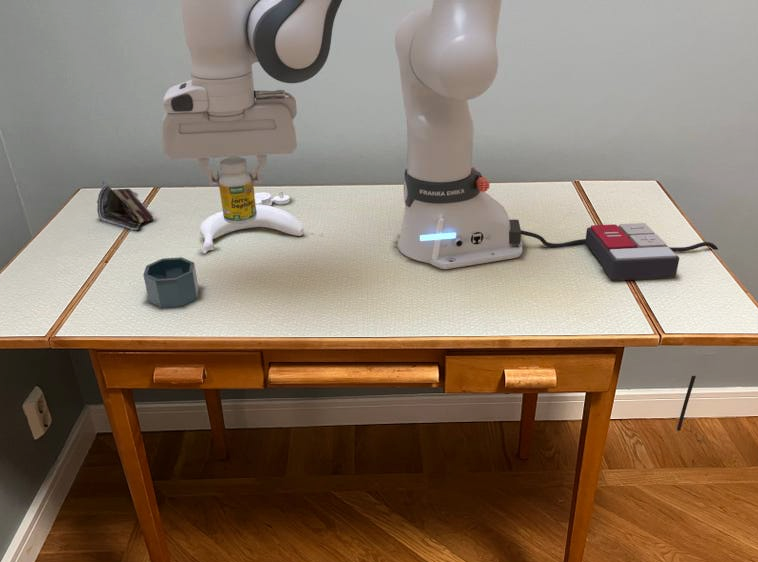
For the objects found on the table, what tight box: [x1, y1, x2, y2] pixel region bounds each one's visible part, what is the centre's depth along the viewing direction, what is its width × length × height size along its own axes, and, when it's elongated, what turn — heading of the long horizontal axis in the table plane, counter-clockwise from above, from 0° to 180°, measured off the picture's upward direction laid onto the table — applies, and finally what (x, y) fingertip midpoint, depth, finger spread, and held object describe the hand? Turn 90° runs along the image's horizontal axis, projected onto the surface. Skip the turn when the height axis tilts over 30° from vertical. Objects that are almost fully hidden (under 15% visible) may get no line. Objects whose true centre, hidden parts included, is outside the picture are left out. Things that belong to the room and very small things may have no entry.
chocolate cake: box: [96, 181, 154, 231], centre depth 149 cm, size 10×7×12 cm
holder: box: [143, 256, 200, 309], centre depth 122 cm, size 8×8×5 cm
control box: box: [585, 222, 680, 281], centre depth 129 cm, size 11×4×15 cm
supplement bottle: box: [218, 156, 257, 224], centre depth 118 cm, size 5×5×10 cm
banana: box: [199, 205, 304, 254], centre depth 139 cm, size 5×19×15 cm
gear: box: [254, 191, 291, 206], centre depth 153 cm, size 9×9×2 cm
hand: (235, 182), depth 117 cm, fingers closed on supplement bottle, 5 cm apart
